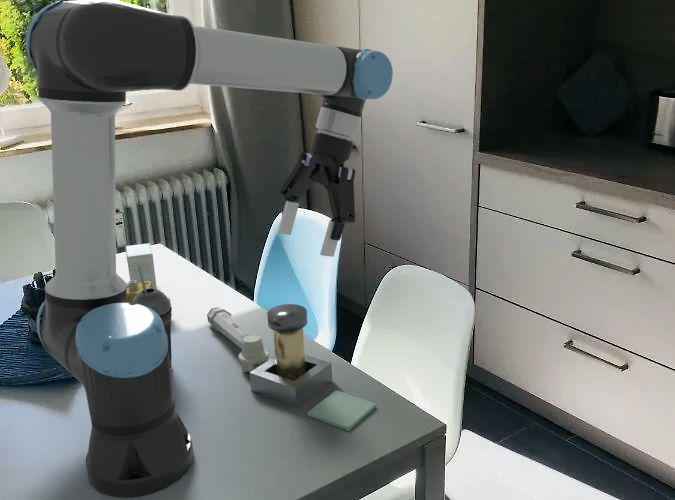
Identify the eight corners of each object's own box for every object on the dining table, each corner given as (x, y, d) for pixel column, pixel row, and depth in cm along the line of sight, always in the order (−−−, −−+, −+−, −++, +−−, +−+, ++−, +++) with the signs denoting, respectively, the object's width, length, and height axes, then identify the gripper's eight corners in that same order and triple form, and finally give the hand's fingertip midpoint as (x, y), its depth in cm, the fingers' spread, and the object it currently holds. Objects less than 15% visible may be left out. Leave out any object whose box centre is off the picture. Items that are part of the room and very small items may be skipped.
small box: (131, 287, 170) (125, 245, 167) (155, 284, 172) (150, 242, 168) (132, 300, 163) (126, 256, 159) (158, 296, 164) (152, 253, 161)
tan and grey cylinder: (295, 399, 120) (289, 324, 116) (265, 388, 124) (259, 315, 119) (318, 382, 125) (314, 309, 121) (289, 372, 129) (284, 301, 124)
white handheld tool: (226, 303, 150) (270, 334, 128) (230, 333, 151) (275, 369, 129) (202, 309, 148) (242, 341, 126) (206, 339, 149) (247, 377, 127)
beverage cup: (165, 380, 128) (151, 276, 121) (130, 375, 131) (114, 272, 124) (186, 361, 135) (174, 261, 128) (152, 356, 137) (138, 258, 130)
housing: (296, 407, 118) (295, 388, 117) (251, 390, 124) (249, 372, 123) (332, 380, 126) (331, 363, 125) (287, 366, 131) (286, 349, 130)
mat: (348, 430, 111) (348, 427, 111) (307, 415, 116) (307, 412, 116) (376, 406, 117) (376, 403, 117) (336, 393, 122) (336, 390, 122)
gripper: (394, 153, 126) (361, 267, 130) (309, 126, 144) (282, 227, 148) (364, 145, 121) (330, 264, 125) (280, 118, 139) (253, 223, 143)
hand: (304, 244), depth 136 cm, fingers open, 13 cm apart
